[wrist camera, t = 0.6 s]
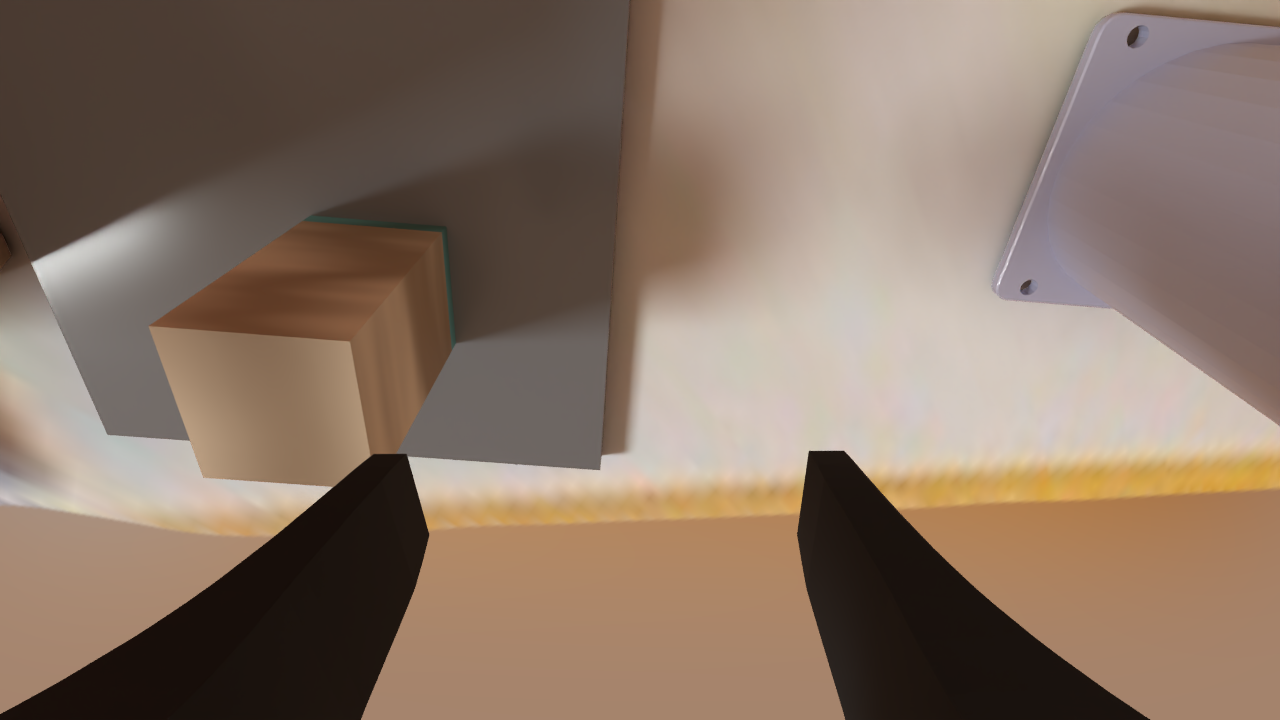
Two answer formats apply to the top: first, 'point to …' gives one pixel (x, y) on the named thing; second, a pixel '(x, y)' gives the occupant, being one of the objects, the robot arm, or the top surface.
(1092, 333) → the top surface
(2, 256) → the block
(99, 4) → the slate board
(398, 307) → the beech block
